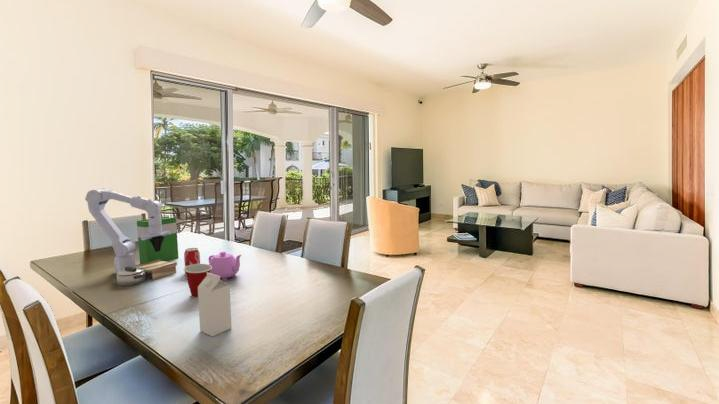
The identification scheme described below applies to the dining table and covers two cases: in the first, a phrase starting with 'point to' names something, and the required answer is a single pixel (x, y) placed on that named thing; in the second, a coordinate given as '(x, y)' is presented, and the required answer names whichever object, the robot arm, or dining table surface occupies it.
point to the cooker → (131, 279)
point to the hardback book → (168, 245)
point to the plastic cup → (196, 276)
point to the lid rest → (159, 268)
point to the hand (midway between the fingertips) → (157, 251)
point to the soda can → (191, 256)
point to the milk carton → (214, 305)
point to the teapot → (224, 265)
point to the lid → (130, 271)
